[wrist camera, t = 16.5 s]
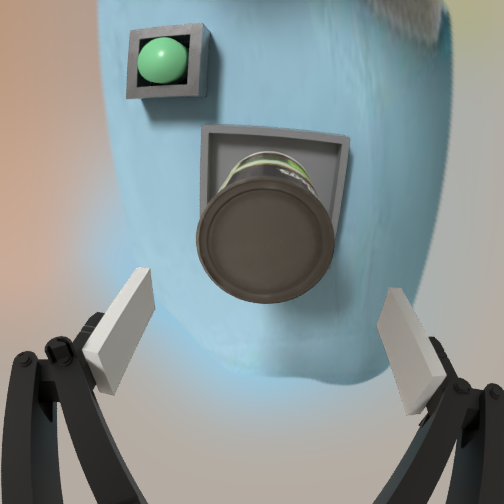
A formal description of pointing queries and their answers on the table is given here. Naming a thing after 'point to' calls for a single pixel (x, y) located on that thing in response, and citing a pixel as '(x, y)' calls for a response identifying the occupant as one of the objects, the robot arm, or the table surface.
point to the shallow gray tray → (279, 140)
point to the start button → (164, 61)
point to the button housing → (196, 65)
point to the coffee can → (266, 231)
